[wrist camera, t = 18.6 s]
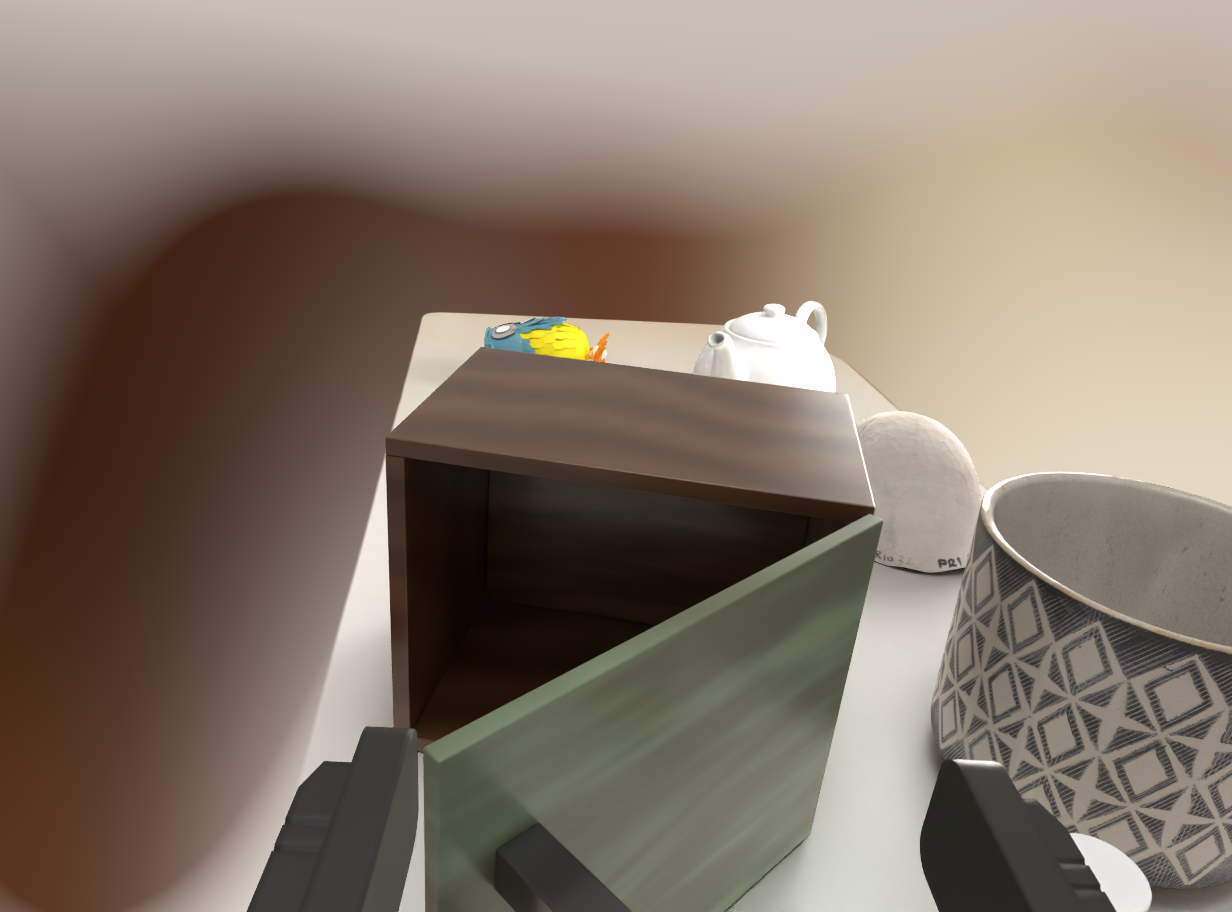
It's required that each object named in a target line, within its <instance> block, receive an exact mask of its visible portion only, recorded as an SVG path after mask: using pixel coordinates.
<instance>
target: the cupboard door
mask: <svg viewBox="0 0 1232 912" xmlns="http://www.w3.org/2000/svg"><path fill="white" fill-rule="evenodd" d="M882 525H883V520H882V519H880V518H878V517H875V516H873V515H871V514H868V515H866V516H864V517H862V518H860V519H859V520H857V521H855V522H853V523H851V524H849V525H847V526H845V527H843V528H841V529H839V530H838V531H836V532H834V533H832V534H830V535H828V536H826V537H824V538H822V539H820V540H818V541H817V542H815V543H813V544H811V545H809V546H807V547H805V548H803V549H801V550H799V551H797V552H796V553H794V554H792V555H790V556H788V557H786V558H784V559H782V560H780V561H778V562H776V563H775V564H773V565H771V566H769V567H767V568H765V569H763V570H761V571H759V572H757V573H755V574H754V575H752V576H750V577H748V578H746V579H744V580H742V581H740V582H738V583H736V584H734V585H733V586H731V587H729V588H727V589H725V590H723V591H721V592H719V593H717V594H715V595H713V596H712V597H710V598H708V599H706V600H704V601H702V602H700V603H698V604H696V605H694V606H692V607H691V608H689V609H687V610H685V611H683V612H681V613H679V614H677V615H675V616H673V617H671V618H670V619H668V620H666V621H664V622H662V623H660V624H658V625H656V626H654V627H652V628H650V629H649V630H647V631H645V632H643V633H641V634H639V635H637V636H635V637H633V638H631V639H629V640H628V641H626V642H624V643H622V644H620V645H618V646H616V647H614V648H612V649H610V650H608V651H607V652H605V653H603V654H601V655H599V656H597V657H595V658H593V659H591V660H589V661H587V662H586V663H584V664H582V665H580V666H578V667H576V668H574V669H572V670H570V671H568V672H566V673H565V674H563V675H561V676H559V677H557V678H555V679H553V680H551V681H549V682H547V683H546V684H544V685H542V686H540V687H538V688H536V689H534V690H532V691H530V692H528V693H526V694H525V695H523V696H521V697H519V698H517V699H515V700H513V701H511V702H509V703H507V704H505V705H504V706H502V707H500V708H498V709H496V710H494V711H492V712H490V713H488V714H486V715H484V716H483V717H481V718H479V719H477V720H475V721H473V722H471V723H469V724H467V725H465V726H463V727H462V728H460V729H458V730H456V731H454V732H452V733H450V734H448V735H446V736H444V737H442V738H441V739H439V740H437V741H435V742H433V743H431V744H429V745H427V746H425V747H424V749H423V762H424V843H425V912H724V911H725V910H726V909H727V908H729V907H730V906H731V905H732V904H733V903H734V902H735V901H736V900H737V899H739V898H740V897H741V896H742V895H743V894H744V893H745V892H746V891H747V890H748V889H750V888H751V887H752V886H753V885H754V884H755V883H756V882H757V881H758V880H760V879H761V878H762V877H763V876H764V875H765V874H766V873H767V872H768V871H770V870H771V869H772V868H773V867H774V866H775V865H776V864H777V863H778V862H780V861H781V860H782V859H783V858H784V857H785V856H786V855H787V854H788V853H789V852H791V851H792V850H793V849H794V848H795V847H796V846H797V845H798V844H799V843H801V842H802V841H803V840H804V839H805V838H806V837H807V836H808V835H809V834H810V831H811V827H812V823H813V819H814V814H815V810H816V806H817V802H818V797H819V793H820V789H821V785H822V780H823V776H824V772H825V768H826V763H827V759H828V755H829V751H830V746H831V742H832V738H833V734H834V729H835V725H836V721H837V717H838V712H839V708H840V704H841V700H842V695H843V691H844V687H845V683H846V678H847V674H848V670H849V666H850V661H851V657H852V653H853V649H854V644H855V640H856V636H857V632H858V627H859V623H860V619H861V615H862V610H863V606H864V602H865V598H866V593H867V589H868V585H869V581H870V576H871V572H872V568H873V564H874V559H875V555H876V551H877V547H878V542H879V538H880V534H881V530H882Z"/></svg>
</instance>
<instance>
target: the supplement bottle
mask: <svg viewBox="0 0 1232 912" xmlns="http://www.w3.org/2000/svg"><path fill="white" fill-rule="evenodd" d="M1070 835H1071V837H1072V838H1073V840H1074V842H1075V843H1076V845H1077V847H1078V848H1079V850H1080V852H1081V853H1082V855H1083V857H1084V858H1085V864H1086V865H1089V867H1090V868H1091V870H1092V872H1093V873H1094V875H1095V876H1096V878H1097V880H1098V881H1099V883H1100V885H1101V886H1100V888H1101V891H1102V892H1105V893H1106V895H1107V896H1108V898H1109V900H1110V901H1111V903H1112V905H1113V906H1114V908H1115V910H1116V911H1117V912H1148V910H1149V908H1150V905H1151V901H1152V892H1151V888H1150V885H1149V882H1148V880H1147V878H1146V877H1145V875H1144V874H1143V872H1142V871H1141V870H1140V868H1139V867H1138V866H1137V865H1136V864H1135V863H1134V862H1133V861H1132V860H1131V859H1130V858H1129V857H1128V856H1126V855H1125V854H1124V853H1123V852H1121V851H1120V850H1118V849H1117V848H1115V847H1114V846H1112V845H1110V844H1108V843H1106V842H1104V841H1102V840H1100V839H1098V838H1095V837H1092V836H1088V835H1084V834H1079V833H1070Z"/></svg>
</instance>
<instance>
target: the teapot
mask: <svg viewBox="0 0 1232 912" xmlns="http://www.w3.org/2000/svg"><path fill="white" fill-rule="evenodd" d="M812 311H814V314H815V320H816V329H815V331H814V330H813V329H811V328H810V327H809V326H808V325H806V321H807V319H808V317H809V315H810V313H811V312H812ZM784 312H785V309H784V307H783V306H781V305H778V304H768V305H766V306H764V312H757V313H751V314H747V315H744V316H742V317H740V318H737V319H733V320H730V321H728V322H727V323H726V324H725V325H724V327H723V328H722V329H721V330H720V331H719V332H714V333H712V334H710V335H709V337H708V339H707V342H708V343H707V344H706V345H705V347H704V348H703V350H702V351H701V353H700V355H699V357H698V359H697V361H696V364H695V367H694V371H693V374H695V375H703V376H711V377H719V378H726V379H734V380H742V381H750V382H757V383H765V384H773V385H781V386H789V387H796V388H804V389H812V390H820V391H827V392H835V374H834V369H833V366H832V362H831V360H830V357H829V355H828V353H827V351H826V349H825V348H824V346H823V345H824V343H825V340H826V335H827V316H826V312H825V309H824V307H823V306H822V305H821V304H820V303H818V302H814V301H808V302H805V303H804V304H803V305H802V306H801V307H800V308H799V310H798V312H797V314H796V316H795V318H794V317H792V316H789V315H785V314H784Z"/></svg>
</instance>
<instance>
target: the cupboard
mask: <svg viewBox="0 0 1232 912" xmlns="http://www.w3.org/2000/svg"><path fill="white" fill-rule="evenodd" d="M386 482H387V516H388V549H389V582H390V616H391V649H392V682H393V716H394V728H407V729H416V732H417V747H418V751H420V752H423V749H424V747H425V746H427V745H429V744H431V743H433V742H435V741H437V740H439V739H441V738H442V737H444V736H446V735H448V734H450V733H452V732H454V731H456V730H458V729H460V728H462V727H463V726H465V725H467V724H469V723H471V722H473V721H475V720H477V719H479V718H481V717H483V716H484V715H486V714H488V713H490V712H492V711H494V710H496V709H498V708H500V707H502V706H504V705H505V704H507V703H509V702H511V701H513V700H515V699H517V698H519V697H521V696H523V695H525V694H526V693H528V692H530V691H532V690H534V689H536V688H538V687H540V686H542V685H544V684H546V683H547V682H549V681H551V680H553V679H555V678H557V677H559V676H561V675H563V674H565V673H566V672H568V671H570V670H572V669H574V668H576V667H578V666H580V665H582V664H584V663H586V662H587V661H589V660H591V659H593V658H595V657H597V656H599V655H601V654H603V653H605V652H607V651H608V650H610V649H612V648H614V647H616V646H618V645H620V644H622V643H624V642H626V641H628V640H629V639H631V638H633V637H635V636H637V635H639V634H641V633H643V632H645V631H647V630H649V629H650V628H652V627H654V626H656V625H658V624H660V623H662V622H664V621H666V620H668V619H670V618H671V617H673V616H675V615H677V614H679V613H681V612H683V611H685V610H687V609H689V608H691V607H692V606H694V605H696V604H698V603H700V602H702V601H704V600H706V599H708V598H710V597H712V596H713V595H715V594H717V593H719V592H721V591H723V590H725V589H727V588H729V587H731V586H733V585H734V584H736V583H738V582H740V581H742V580H744V579H746V578H748V577H750V576H752V575H754V574H755V573H757V572H759V571H761V570H763V569H765V568H767V567H769V566H771V565H773V564H775V563H776V562H778V561H780V560H782V559H784V558H786V557H788V556H790V555H792V554H794V553H796V552H797V551H799V550H801V549H803V548H805V547H807V546H809V545H811V544H813V543H815V542H817V541H818V540H820V539H822V538H824V537H826V536H828V535H830V534H832V533H834V532H836V531H838V530H839V529H841V528H843V527H845V526H847V525H849V524H851V523H853V522H855V521H857V520H859V519H860V518H862V517H864V516H866V515H868V514H871V515H873V516H874V512H875V504H874V500H873V496H872V492H871V488H870V484H869V480H868V476H867V472H866V467H865V463H864V459H863V455H862V451H861V447H860V443H859V439H858V435H857V431H856V427H855V422H854V418H853V414H852V410H851V406H850V402H849V398H848V394H843V393H835V392H827V391H820V390H812V389H804V388H796V387H789V386H781V385H773V384H765V383H757V382H750V381H742V380H734V379H726V378H719V377H711V376H703V375H695V374H688V373H680V372H672V371H664V370H656V369H649V368H641V367H633V366H625V365H618V364H610V363H602V362H594V361H586V360H579V359H571V358H563V357H555V356H548V355H540V354H532V353H524V352H516V351H509V350H501V349H493V348H485V347H481V348H480V349H478V350H477V351H476V352H475V353H474V354H473V355H472V356H471V357H470V358H469V359H468V360H467V361H466V362H465V363H464V364H463V365H462V366H461V367H459V368H458V369H457V370H456V371H455V372H454V373H453V374H452V375H451V376H450V377H449V378H448V379H447V380H446V381H445V382H444V383H443V384H442V385H440V386H439V387H438V388H437V389H436V390H435V391H434V392H433V393H432V394H431V395H430V396H429V397H428V398H427V399H426V400H425V401H424V402H422V403H421V404H420V405H419V406H418V407H417V408H416V409H415V410H414V411H413V412H412V413H411V414H410V415H409V416H408V417H407V418H406V419H405V420H403V421H402V422H401V423H400V424H399V425H398V426H397V427H396V428H395V429H394V430H393V431H392V432H391V433H390V434H389V435H388V436H387V437H386Z"/></svg>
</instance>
